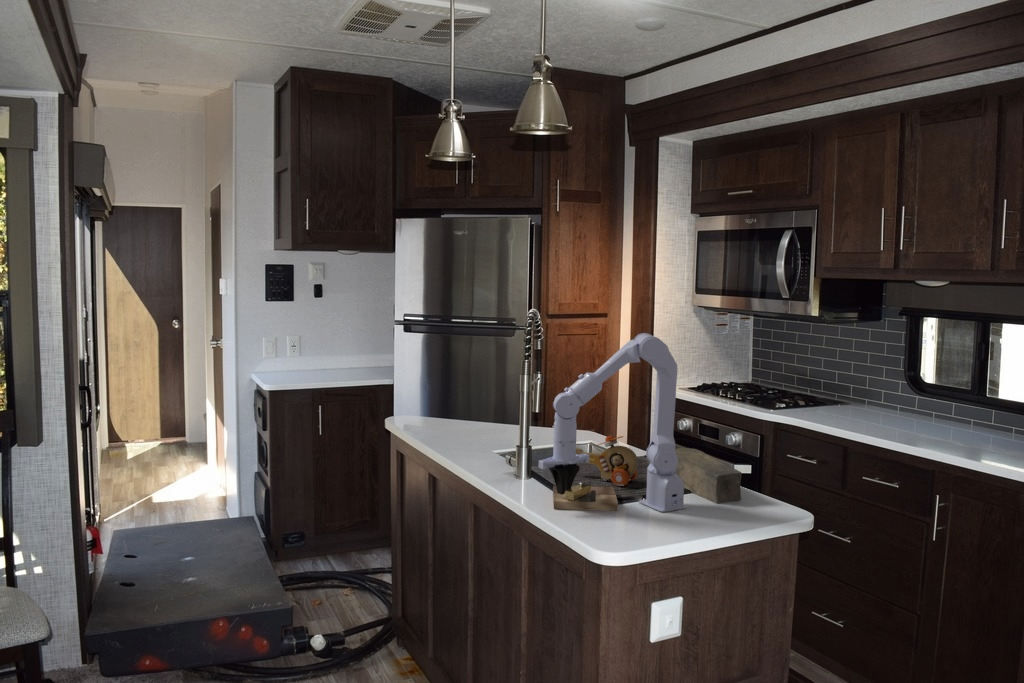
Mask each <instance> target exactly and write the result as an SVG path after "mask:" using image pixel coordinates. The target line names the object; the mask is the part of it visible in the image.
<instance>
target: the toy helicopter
mask: <svg viewBox="0 0 1024 683" xmlns="http://www.w3.org/2000/svg"><path fill="white" fill-rule="evenodd" d="M622 438H624V435H622V436H621V435H620V436H618V437H615V438H614V437H613V436H612V435H608V436H606V437H605V439H604V440H605V441H604V442H601V443H598V444H597V445H596V447H598V446H600V445H603V444H604V446H605V449H604V450H603V451H602V452H601V453H600V452H588V451H587V452H586V451H584V450H583V449H582V448H579V447H576V454H587V455H589V463H585V462H583V463H577V465H578V466H580V465H581V464H588V465H593V466H596V467H597V468H598V470H599V471H600V472H601V475H600V478H606V479H611V480H610V481H611V482H612V484H613V483H617V484H624V485H625V486H627V485H628V483H630V482H629V479H631V480H633V481H634V479H635V480H636V479H637V477H638V470H637V468H638V456H637V454H636V453H635V451H633V449H631V448H630V447H627V446H624V445H615V444H617V443H618V439H622ZM626 484H627V485H626Z"/></svg>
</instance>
